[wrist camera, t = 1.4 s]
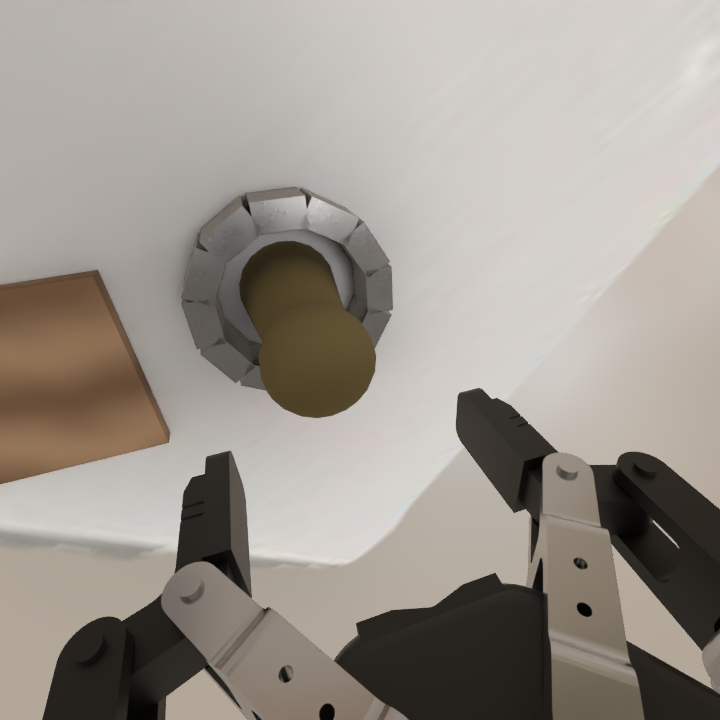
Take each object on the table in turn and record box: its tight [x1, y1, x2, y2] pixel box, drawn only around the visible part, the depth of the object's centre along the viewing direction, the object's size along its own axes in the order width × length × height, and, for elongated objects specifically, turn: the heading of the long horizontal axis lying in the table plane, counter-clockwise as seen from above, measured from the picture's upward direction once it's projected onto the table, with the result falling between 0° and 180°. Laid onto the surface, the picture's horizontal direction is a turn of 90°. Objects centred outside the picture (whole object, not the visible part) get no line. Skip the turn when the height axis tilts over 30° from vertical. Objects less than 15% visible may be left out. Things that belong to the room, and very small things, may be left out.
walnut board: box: [0, 270, 170, 484], centre depth 23 cm, size 12×12×1 cm
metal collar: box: [181, 187, 393, 391], centre depth 24 cm, size 12×12×3 cm
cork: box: [239, 241, 376, 418], centre depth 21 cm, size 6×6×11 cm
